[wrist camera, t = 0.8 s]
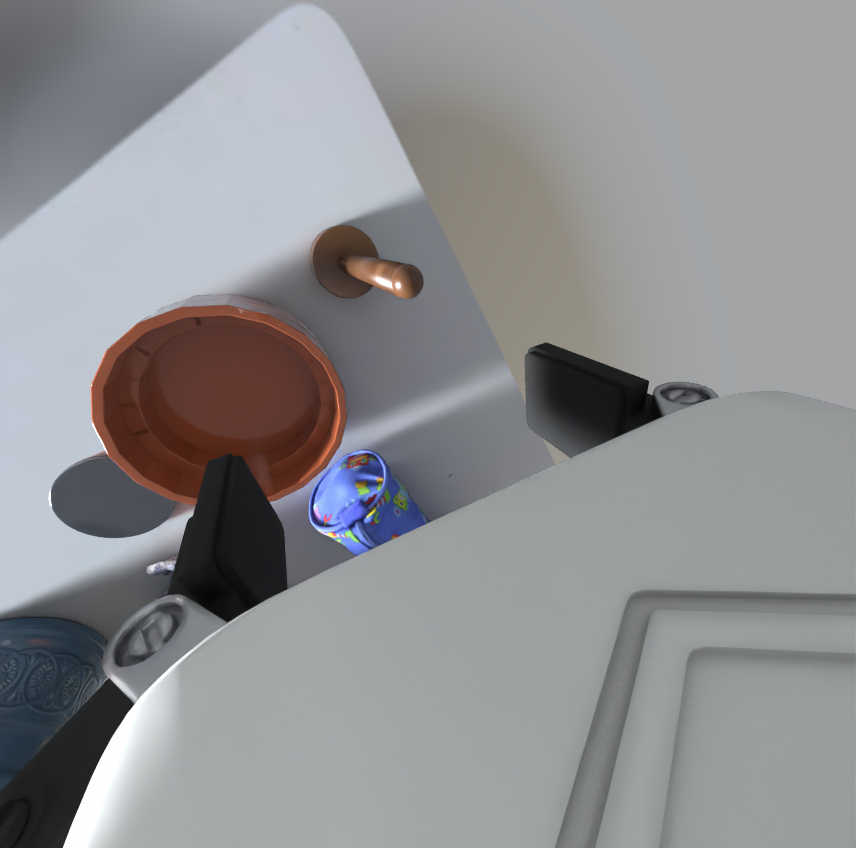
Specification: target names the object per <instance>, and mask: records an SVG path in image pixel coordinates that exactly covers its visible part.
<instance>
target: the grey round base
mask: <svg viewBox="0 0 856 848" xmlns="http://www.w3.org/2000/svg"><path fill="white" fill-rule="evenodd" d="M50 504H51V507H52V510H53V511H54V513H55V514H56V516H57V517H58V518H59V519H60V520H61V521H62V522H63V523H65V524H66V525H68V526H69V527H71V528H73V529H75V530H77V531H79V532H82V533H85V534H88V535H92V536H97V537H104V538H124V537H131V536H136V535H140V534H143V533H146V532H148V531H150V530H153V529H154V528H156V527H158V526H159V525H161V524H162V523H163V522H164V521H165V520H166V519H167V518H168V517H169V516H170V515H171V513H172V511H173V509H174V507H175V504H176V501H174V500H171V499H168V498H166V497H164V496H162V495H160V494H158V493H157V492H155V491H153V490H151V489H149V488H147V487H145V486H143V485H141V484H139V483H137V482H136V481H135V480H133V479H132V478H131V477H130V476H129V475H128V474H127V473H126V472H125V471H124V470H123V469H122V468H121V467H120V466H119V465H118V464H116V463H115V462H114V461H113V460H112V459H111V458H110V457H109V455H103V456H97V457H92V458H88V459H84V460H82V461H79V462H77V463H75V464H73V465H71V466H70V467H68V468H67V469H66V470H64V471H63V472H62V473H61V474H60V475H59V476H58V478H57V479H56V480H55V482H54V483H53V485H52V487H51V490H50Z"/></svg>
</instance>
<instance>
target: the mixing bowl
mask: <svg viewBox="0 0 856 848" xmlns="http://www.w3.org/2000/svg"><path fill="white" fill-rule="evenodd" d="M91 412H92V422H93V423H92V424H93V426H94V428H95V430H96V432H97V434H98V436H99V438H100V440H101V442H102V444H103V446H104V448H105V450H106V452H107V454H108V455H109V457H110V458H111V459H112V460H113V461H114V462H115V463H116V464H118V465H119V466H120V467H121V468H122V469H123V470H124V471H125V472H126V473H127V474H128V475H129V476H130V477H131V478H132V479H133V480H135V481H136V482H137V483H139V484H141V485H143V486H145V487H147V488H149V489H151V490H153V491H155V492H157V493H158V494H160V495H162V496H164V497H166V498H168V499H171V500H174V501H179V502H183V503H187V504H192V505H196V503H197V499H198V495H199V491H200V488H201V484H202V480H203V476H204V472H205V469H206V465H207V462H208V461H209V460H212V459H215V458H218V457H221V456H223V455H226V454H229V453H231V454H232V455H233V456H234V457H236V456H239V455H240V456H242V457H243V459H244V460H245V462H246V464H247V465H248V467H249V469H250V470H251V472H252V474H253V475H254V477H255V479H256V480H257V482H258V484H259V486H260V487H261V489H262V491H263V492H264V494H265V496H266V497H267V499H268V501H269V502H272V501H276V500H278V499H280V498H282V497H284V496H286V495H288V494H290V493H292V492H294V491H296V490H298V489H300V488H302V487H304V486H305V485H306V484H308V483H309V482H310V481H311V480H312V479H313V478H314V477H316V476H317V475H318V474H319V473H320V472H321V471H323V470H324V469H325V468H326V467H327V465H328V463H329V462H330V460H331V459H332V457H333V456H334V454H335V452H336V451H337V449H338V448H339V446H340V444H341V441H342V437H343V433H344V429H345V425H346V420H347V410H346V401H345V392H344V387H343V385H342V383H341V381H340V379H339V377H338V375H337V373H336V371H335V369H334V367H333V365H332V363H331V361H330V359H329V357H328V355H327V353H326V351H325V349H324V347H323V345H322V344H321V342H320V341H319V340H318V339H317V338H316V337H315V336H314V335H313V334H312V333H311V332H310V331H309V329H308V328H307V327H306V326H305V325H304V324H303V323H302V322H301V321H299V320H298V319H297V318H295V317H293V316H291V315H290V314H288V313H286V312H285V311H283V310H281V309H279V308H278V307H276V306H274V305H272V304H269V303H268V302H264V301H260V300H256V299H252V298H248V297H244V296H240V295H236V294H216V295H196V296H192V297H189V298H187V299H184V300H181V301H179V302H176V303H173V304H170V305H168V306H165V307H162V308H160V309H159V310H157V311H156V312H154V313H153V314H151V315H149V316H148V317H146V318H145V319H143V320H142V321H140V322H139V323H137V324H136V325H135V326H134V327H132V328H131V329H130V330H129V331H128V332H127V333H126V334H124V335H123V336H122V337H121V338H120V339H119V340H118V341H116V342H115V343H114V344H113V345H112V346H111V347H110V348H108V349H107V351H106V352H105V354H104V357H103V359H102V361H101V363H100V366H99V368H98V370H97V372H96V374H95V377H94V379H93V381H92V383H91Z"/></svg>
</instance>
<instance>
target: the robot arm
mask: <svg viewBox="0 0 856 848" xmlns="http://www.w3.org/2000/svg"><path fill="white" fill-rule="evenodd" d="M525 383H526V384H525V385H526V415H527V423H528V426H529V427H530V429H531V430H533V431H534V432H535V433H537V434H538V435H540V436H541V437H542V438H544V439H545V440H547V441H548V442H549V443H551V444H552V445H554V446H555V447H556V448H558V449H559V450H560V451H562V452H563V453H564V454H566V455H567V456H569V457H570V459H568V460H565V461H563V462H561V463H558V464H556V465H554V466H552V467H550V468H547V469H545V470H543V471H541V472H539V473H536V474H534V475H532V476H530V477H528V478H525V479H523V480H521V481H519V482H517V483H514V484H512V485H510V486H508V487H506V488H503V489H501V490H499V491H497V492H495V493H493V494H490V495H488V496H486V497H484V498H482V499H479V500H477V501H475V502H473V503H471V504H469V505H466V506H464V507H462V508H460V509H458V510H455V511H453V512H451V513H449V514H447V515H445V516H442V517H440V518H438V519H436V520H434V521H431V522H429V523H427V524H425V525H423V526H421V527H419V528H416V529H414V530H412V531H410V532H408V533H406V534H403V535H401V536H399V537H397V538H395V539H393V540H390V541H388V542H386V543H384V544H382V545H380V546H378V547H375V548H373V549H371V550H369V551H367V552H365V553H362V554H360V555H358V556H356V557H354V558H352V559H349V560H347V561H345V562H343V563H341V564H339V565H336V566H334V567H332V568H330V569H328V570H326V571H323V572H321V573H319V574H317V575H315V576H313V577H311V578H309V579H307V580H305V581H303V582H301V583H299V584H297V585H295V586H293V587H291V588H289V589H288V587H287V571H286V554H285V538H284V529H283V526H282V523H281V521H280V519H279V518H278V516H277V514H276V513H275V511H274V509H273V508H272V506H271V504H270V502H269V501H268V499H267V497H266V496H265V494H264V492H263V491H262V489H261V487H260V486H259V484H258V482H257V480H256V479H255V477H254V475H253V474H252V472H251V470H250V469H249V467H248V465H247V464H246V462H245V460H244V459H243V457H242V456H240V455H239V456H236V457H234V456H233V455H232V454H231V453H229V454H226V455H223V456H221V457H218V458H215V459H212V460H209V461H208V462H207V465H206V469H205V472H204V476H203V480H202V484H201V488H200V491H199V495H198V499H197V503H196V507H195V510H194V514H193V517H191V518H189V520H188V522H187V525H186V528H185V532H184V535H183V539H182V543H181V546H180V550H179V553H178V557H177V561H176V564H175V568H174V571H173V575H172V579H171V582H170V586H169V589H168V593H167V596H165V597H162V598H159V599H157V600H155V601H153V602H151V603H150V604H148V605H146V606H144V607H143V608H141V609H140V610H139V611H138V612H136V613H135V614H134V615H132V616H131V617H130V618H129V619H128V620H127V621H126V622H125V623H124V624H123V625H122V626H121V627H120V628H119V629H118V631H117V632H116V633H115V635H114V636H113V638H112V639H111V640H110V642H109V644H108V646H107V648H106V650H105V652H104V654H103V660H102V667H103V670H104V672H105V674H106V675H107V676H108V677H109V679H108V680H107V681H106V682H105V683H104V684H103V685H102V686H101V687H100V688H99V689H98V690H97V691H96V692H95V693H94V694H93V695H92V696H91V697H90V698H89V700H88V701H87V702H86V703H85V704H84V705H83V706H82V707H81V708H80V709H79V710H78V711H77V712H76V713H75V714H74V715H73V716H72V717H71V718H70V719H69V720H68V721H67V722H66V723H65V724H64V726H63V727H62V728H61V729H60V730H59V731H58V732H57V733H56V734H55V735H54V736H53V737H52V738H51V739H50V740H49V741H48V742H47V743H46V744H45V745H44V746H43V747H42V748H41V749H40V750H39V752H38V753H37V754H36V755H35V756H34V757H33V758H32V759H31V760H30V761H29V762H28V763H27V764H26V765H25V766H24V767H23V768H22V769H21V770H20V771H19V772H18V773H17V774H16V775H15V776H14V777H13V779H12V780H11V781H10V782H9V783H8V784H7V785H6V786H5V787H4V788H3V789H2V790H1V791H0V848H856V410H853V409H850V408H846V407H842V406H839V405H835V404H831V403H828V402H825V401H821V400H817V399H813V398H810V397H806V396H802V395H798V394H793V393H788V392H780V391H760V392H746V393H738V394H732V395H727V396H722V397H719V396H718V395H717V394H716V393H715V392H714V391H713V390H712V389H710V388H708V387H706V386H702V385H699V384H694V383H689V382H671V383H665V384H662V385H659V386H657V387H656V388H655V389H654V391H653V395H650V394H648V393H647V390H648V385H649V381H648V380H645V379H643V378H640V377H637V376H635V375H632V374H629V373H627V372H624V371H621V370H619V369H616V368H613V367H610V366H608V365H605V364H603V363H600V362H597V361H595V360H592V359H589V358H586V357H584V356H581V355H578V354H576V353H573V352H570V351H568V350H565V349H563V348H560V347H557V346H555V345H552V344H549V343H543V344H540V345H537V346H534V347H531V348H530V349H529V350H528V353H527V354H526V355H525Z"/></svg>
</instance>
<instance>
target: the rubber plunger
mask: <svg viewBox="0 0 856 848" xmlns="http://www.w3.org/2000/svg"><path fill="white" fill-rule="evenodd" d="M310 264H311V268H312V271H313V274H314V276H315V277H316V279H317V280H318V282H319V283H320V284H321V285H322V286H323V287H324V288H325V289H326V290H328V291H329V292H330V293H332V294H334V295H336V296H338V297H342V298H356V297H359V296H362V295H364V294H365V293H367V292H368V291H369V290H370V289H371V288H372V287H373V286H376V287H378V288H380V289H382V290H385V291H387V292H389V293H392V294H394V295H396V296H398V297H401V298H404V299H412V298H414V297H416V296H417V295H418V294H419V293H420V292H421V290H422V288H423V276H422V274H421V272H420V270H419V269H418V268H417V267H415V266H413V265H411V264H406V263H400V262H395V261H389V260H383V259H379V256H378V253H377V250H376V248H375V246H374V244H373V242H372V241H371V239H370V238H369V237H368V236H367V235H366V234H365V233H363V232H362V231H360V230H359V229H357V228H355V227H351V226H346V225H340V226H334V227H330V228H327V229H325V230H324V231H322V232H321V233H320V234H319V235H318V236H317V237H316V238H315V240H314V242H313V244H312V247H311V251H310Z"/></svg>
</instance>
